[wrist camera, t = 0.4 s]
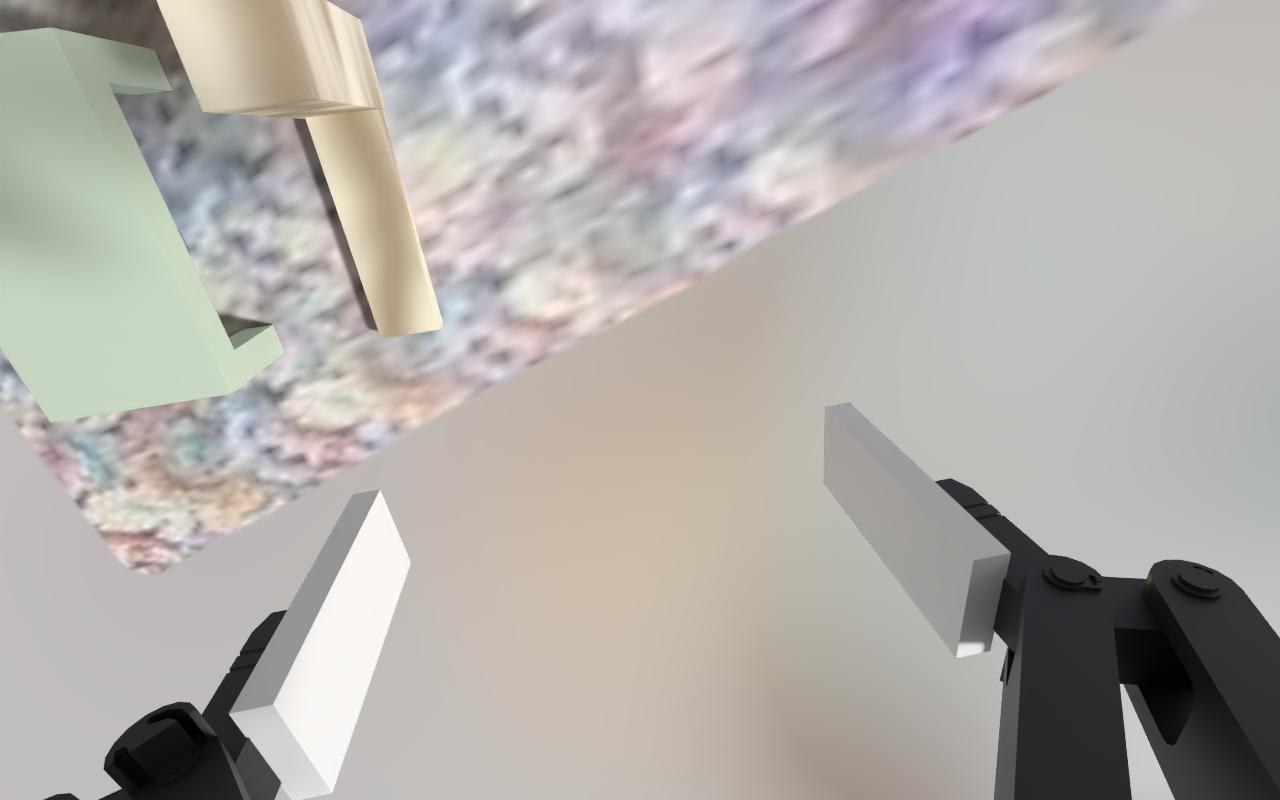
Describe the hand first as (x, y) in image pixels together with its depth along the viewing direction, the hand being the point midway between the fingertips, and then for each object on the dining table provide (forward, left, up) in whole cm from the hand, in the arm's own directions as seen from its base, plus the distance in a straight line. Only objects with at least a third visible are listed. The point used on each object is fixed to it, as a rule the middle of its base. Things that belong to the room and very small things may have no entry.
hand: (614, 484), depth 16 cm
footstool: (-7, -26, -26) cm, 37 cm away
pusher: (-8, -12, -25) cm, 29 cm away
